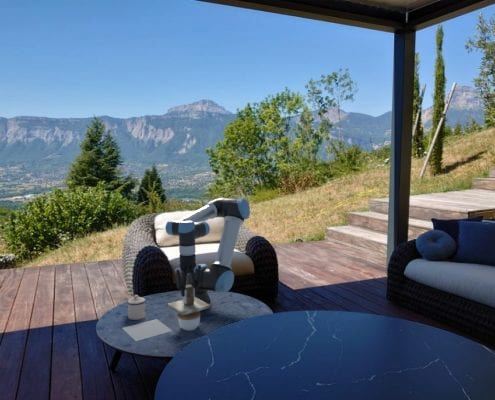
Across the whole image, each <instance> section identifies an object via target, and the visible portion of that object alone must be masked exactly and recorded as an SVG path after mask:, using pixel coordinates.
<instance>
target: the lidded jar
mask: <svg viewBox="0 0 495 400" xmlns="http://www.w3.org/2000/svg"><path fill="white" fill-rule="evenodd" d="M177 320H178V325H179V327H180V329H182V330H184V331H189V332H190V331H194V330H195V329H197V328H198V327H199V326H200V321H201V311H197V312H193V313H189V314H185V315H181V314H179V313H178V312H177Z"/></svg>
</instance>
